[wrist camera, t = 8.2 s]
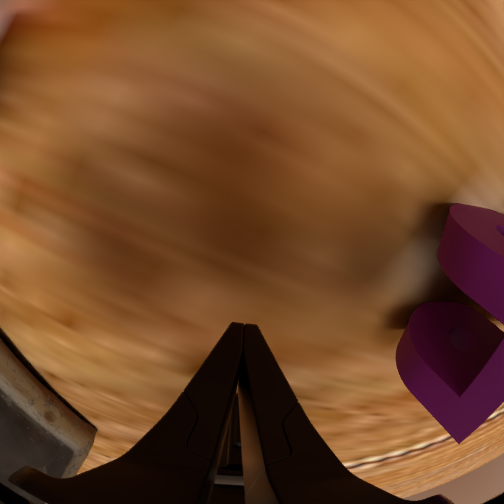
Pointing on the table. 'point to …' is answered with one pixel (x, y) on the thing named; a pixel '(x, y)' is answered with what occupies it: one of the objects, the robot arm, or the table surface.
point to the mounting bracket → (460, 328)
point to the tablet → (37, 427)
